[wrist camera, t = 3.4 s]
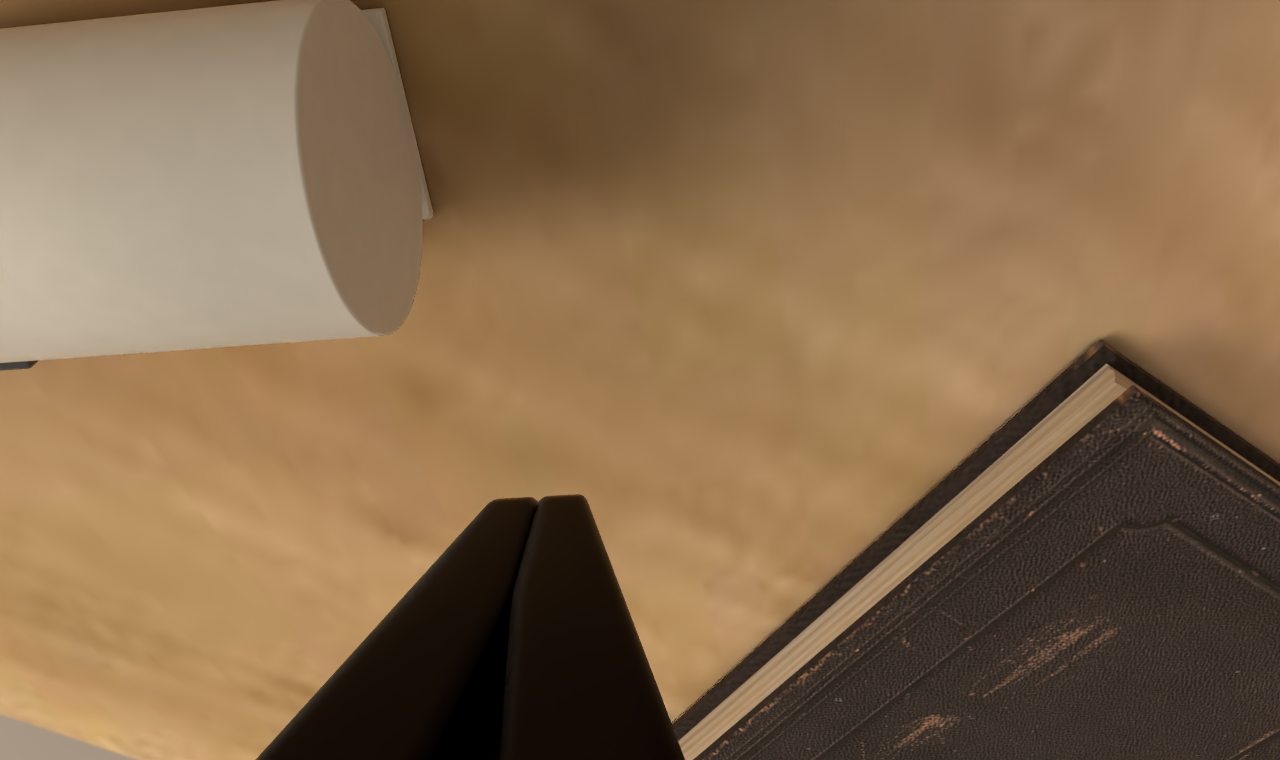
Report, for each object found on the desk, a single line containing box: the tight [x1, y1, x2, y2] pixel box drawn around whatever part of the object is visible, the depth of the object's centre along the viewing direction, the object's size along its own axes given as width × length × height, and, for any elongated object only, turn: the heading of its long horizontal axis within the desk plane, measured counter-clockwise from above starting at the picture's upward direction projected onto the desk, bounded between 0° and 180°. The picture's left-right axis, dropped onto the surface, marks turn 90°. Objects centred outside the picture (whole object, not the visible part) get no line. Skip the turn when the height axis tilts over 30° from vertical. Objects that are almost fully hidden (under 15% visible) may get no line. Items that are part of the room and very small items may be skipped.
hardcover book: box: [672, 340, 1280, 760], centre depth 29 cm, size 16×23×2 cm
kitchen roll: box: [0, 0, 433, 363], centre depth 18 cm, size 10×6×6 cm, turn 96°
